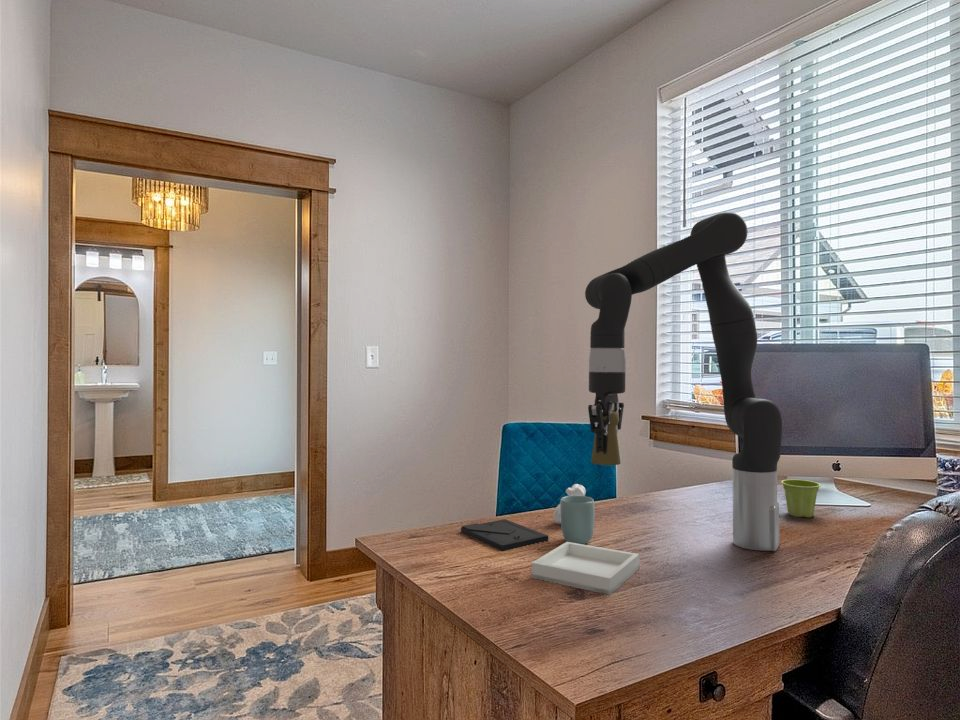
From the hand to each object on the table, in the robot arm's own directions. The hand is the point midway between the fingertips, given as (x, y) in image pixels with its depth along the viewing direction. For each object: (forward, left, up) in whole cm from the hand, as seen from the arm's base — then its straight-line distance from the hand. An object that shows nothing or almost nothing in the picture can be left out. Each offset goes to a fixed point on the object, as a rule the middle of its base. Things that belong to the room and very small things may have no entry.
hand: (606, 451), depth 126 cm
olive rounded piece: (0, 0, -2) cm, 2 cm away
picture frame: (+28, -4, -24) cm, 37 cm away
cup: (+11, -9, -23) cm, 27 cm away
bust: (+19, -24, -23) cm, 39 cm away
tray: (+1, +9, -23) cm, 25 cm away
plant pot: (-30, -63, -23) cm, 74 cm away
